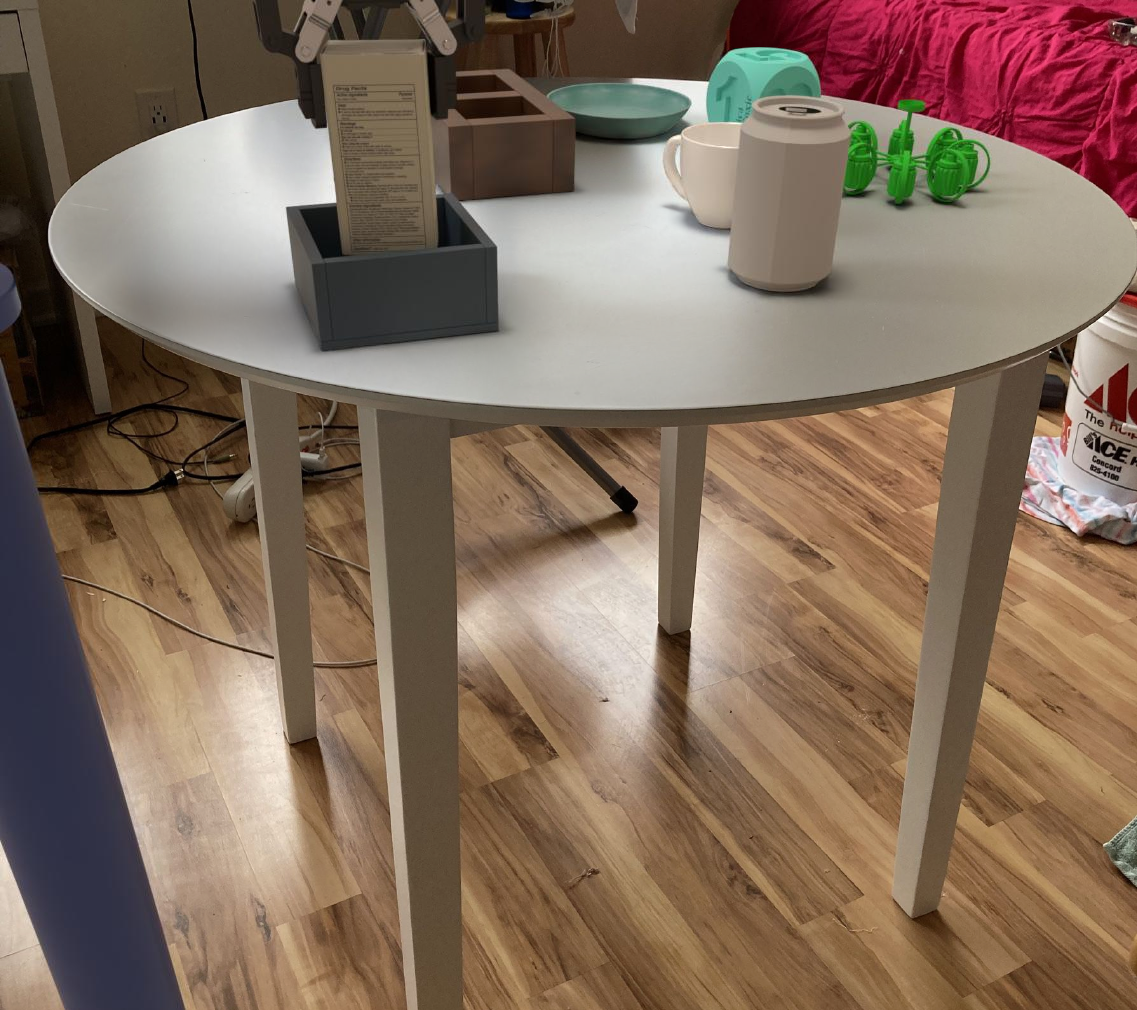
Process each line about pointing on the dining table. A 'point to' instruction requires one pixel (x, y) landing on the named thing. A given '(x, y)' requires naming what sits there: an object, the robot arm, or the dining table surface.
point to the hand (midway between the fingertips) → (379, 120)
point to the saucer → (621, 109)
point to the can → (788, 192)
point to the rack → (502, 139)
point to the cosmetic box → (381, 144)
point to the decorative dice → (757, 81)
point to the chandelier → (941, 157)
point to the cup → (706, 170)
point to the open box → (394, 281)
